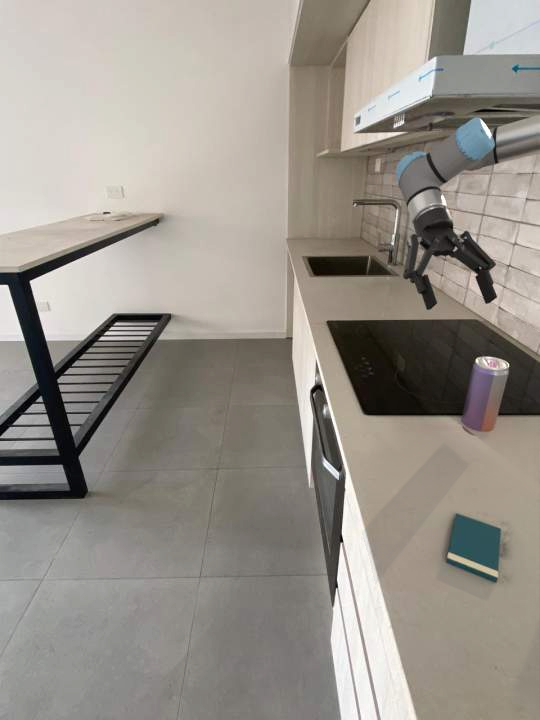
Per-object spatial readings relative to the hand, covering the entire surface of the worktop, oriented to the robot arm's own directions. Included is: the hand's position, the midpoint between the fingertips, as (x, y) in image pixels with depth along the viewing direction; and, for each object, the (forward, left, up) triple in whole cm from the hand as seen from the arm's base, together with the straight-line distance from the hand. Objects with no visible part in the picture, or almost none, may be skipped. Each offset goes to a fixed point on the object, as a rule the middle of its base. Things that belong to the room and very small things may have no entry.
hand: (462, 303), depth 79 cm
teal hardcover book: (+23, +32, -23) cm, 46 cm away
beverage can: (+1, +11, -23) cm, 26 cm away
